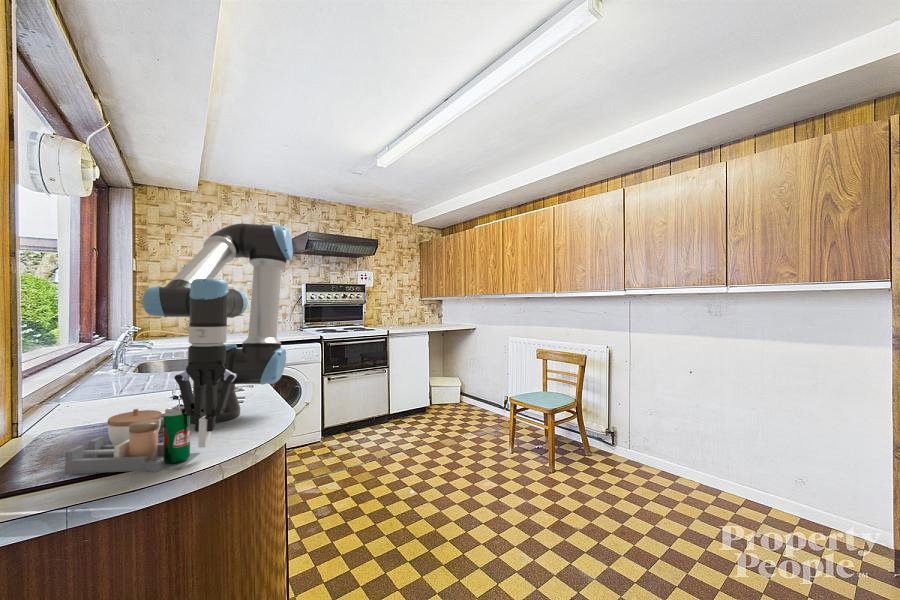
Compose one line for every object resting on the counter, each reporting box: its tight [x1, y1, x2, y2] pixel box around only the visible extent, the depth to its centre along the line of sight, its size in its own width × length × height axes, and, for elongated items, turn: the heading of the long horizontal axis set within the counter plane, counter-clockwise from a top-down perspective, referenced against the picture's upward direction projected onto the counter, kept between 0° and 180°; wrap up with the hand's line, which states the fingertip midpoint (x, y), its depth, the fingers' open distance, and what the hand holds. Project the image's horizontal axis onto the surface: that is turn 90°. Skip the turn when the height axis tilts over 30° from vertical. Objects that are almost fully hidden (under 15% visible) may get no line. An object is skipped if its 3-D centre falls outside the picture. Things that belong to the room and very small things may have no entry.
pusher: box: [84, 440, 129, 457], centre depth 86 cm, size 6×11×4 cm, turn 99°
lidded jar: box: [107, 408, 163, 445], centre depth 98 cm, size 11×11×9 cm
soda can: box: [162, 405, 191, 464], centre depth 88 cm, size 5×5×12 cm
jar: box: [129, 419, 160, 461], centre depth 87 cm, size 5×5×9 cm
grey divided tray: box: [64, 435, 201, 475], centre depth 87 cm, size 12×22×5 cm, turn 99°
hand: (204, 445), depth 89 cm, fingers closed
